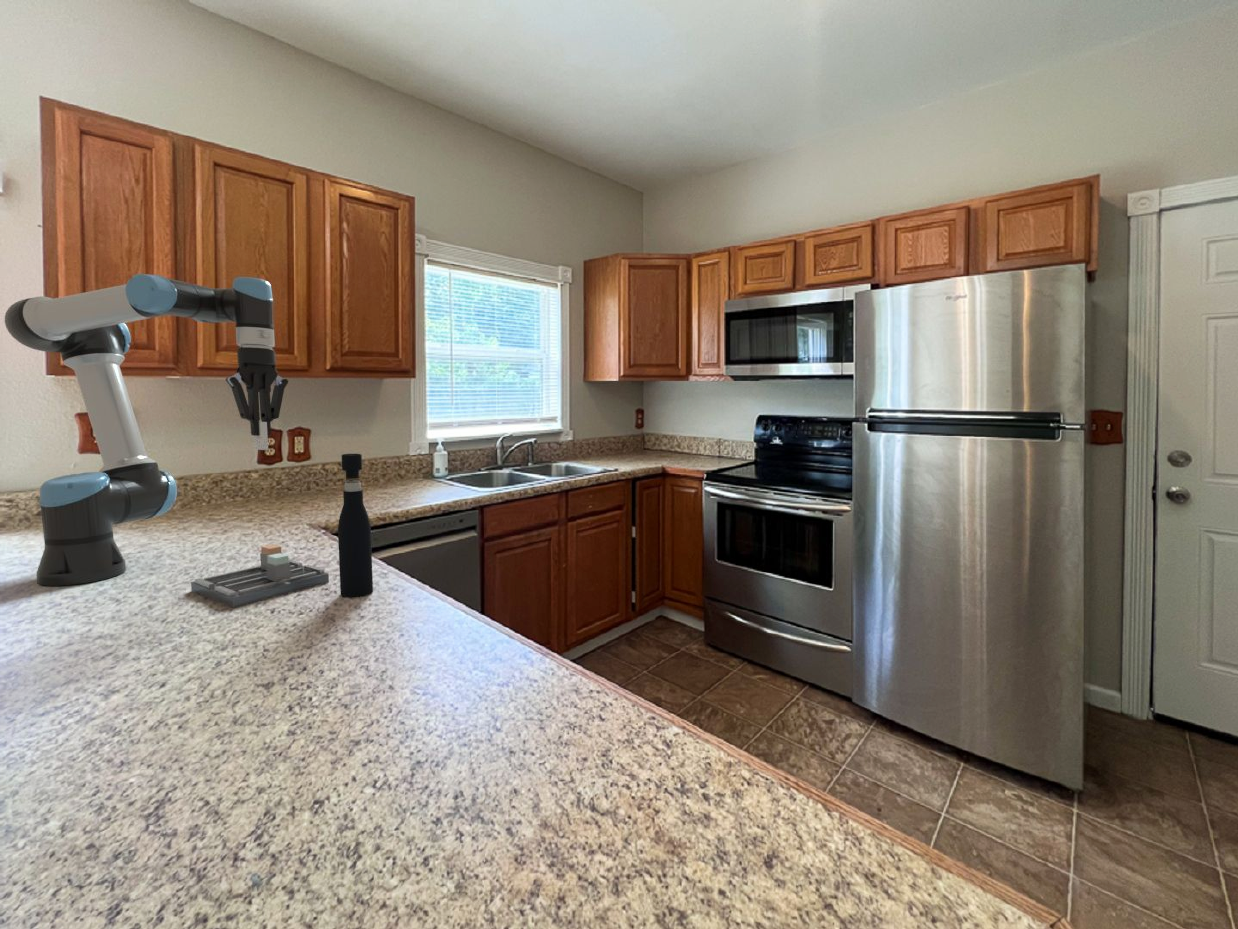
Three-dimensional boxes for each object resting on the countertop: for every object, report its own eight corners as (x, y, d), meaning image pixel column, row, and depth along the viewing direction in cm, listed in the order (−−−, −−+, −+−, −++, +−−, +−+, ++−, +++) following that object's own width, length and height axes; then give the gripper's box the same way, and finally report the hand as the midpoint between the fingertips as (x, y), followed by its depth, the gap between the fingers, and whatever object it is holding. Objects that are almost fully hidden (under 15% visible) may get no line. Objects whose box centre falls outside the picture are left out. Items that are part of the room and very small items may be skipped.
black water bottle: (364, 598, 122) (359, 456, 119) (334, 597, 122) (328, 455, 119) (378, 588, 128) (373, 453, 125) (349, 588, 129) (343, 452, 125)
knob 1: (261, 568, 135) (259, 546, 134) (274, 565, 137) (273, 544, 137) (270, 571, 133) (268, 549, 132) (283, 568, 135) (282, 546, 134)
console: (191, 591, 125) (190, 578, 125) (285, 569, 142) (285, 557, 142) (233, 608, 116) (232, 594, 115) (328, 582, 132) (328, 570, 132)
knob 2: (267, 579, 127) (265, 555, 127) (281, 575, 130) (279, 552, 129) (276, 582, 125) (275, 558, 124) (290, 578, 128) (289, 555, 127)
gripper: (233, 344, 127) (240, 452, 130) (293, 349, 138) (298, 448, 141) (217, 345, 131) (223, 450, 134) (276, 350, 142) (281, 446, 145)
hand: (261, 449), depth 137 cm, fingers closed
